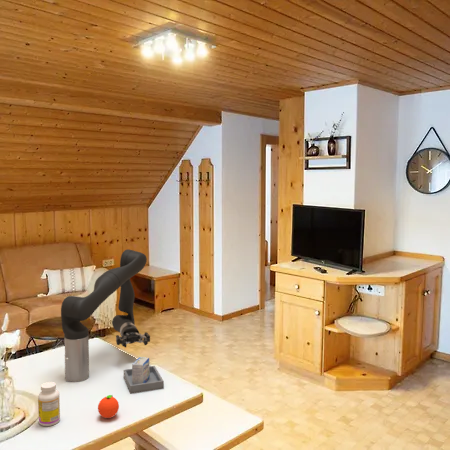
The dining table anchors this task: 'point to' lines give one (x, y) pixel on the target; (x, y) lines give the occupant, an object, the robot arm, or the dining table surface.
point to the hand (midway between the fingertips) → (135, 344)
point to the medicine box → (140, 370)
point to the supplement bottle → (49, 404)
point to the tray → (151, 384)
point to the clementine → (108, 407)
